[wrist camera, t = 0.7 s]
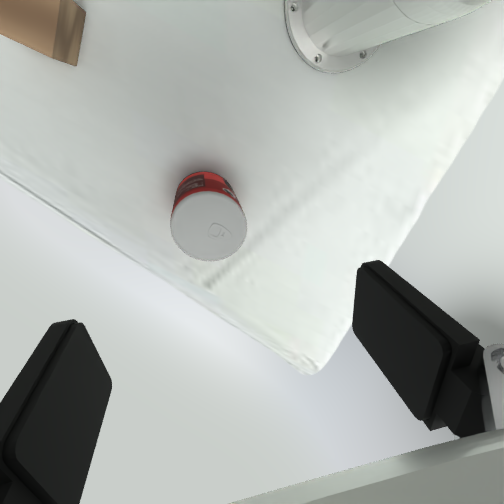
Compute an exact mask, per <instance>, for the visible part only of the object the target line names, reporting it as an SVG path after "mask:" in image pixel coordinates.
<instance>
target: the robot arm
mask: <svg viewBox="0 0 504 504" xmlns="http://www.w3.org/2000/svg"><path fill="white" fill-rule="evenodd" d="M490 1H492V0H285V16H286V24H287V28H288V33H289V36H290V38H291V41H292V43H293V45H294V47H295V49H296V50H297V52H298V54H299V55H300V56H301V57H302V58H303V59H304V61H305V62H306V63H308V64H309V65H310V66H312V67H313V68H315V69H317V70H320V71H322V72H328V73H338V72H344V71H348V70H351V69H353V68H355V67H357V66H359V65H361V64H362V63H364V62H365V61H366V60H368V58H369V57H370V56H371V55H372V54H373V53H374V52H375V51H376V50H377V49H378V47H379V46H380V44H382V43H385V42H388V41H391V40H395V39H398V38H401V37H404V36H407V35H410V34H413V33H416V32H419V31H422V30H425V29H428V28H431V27H434V26H437V25H440V24H443V23H445V22H448V21H451V20H454V19H457V18H460V17H462V16H465V15H467V14H469V13H472V12H474V11H476V10H477V9H479V8H481V7H482V6H484V5H486V4H487V3H489V2H490ZM291 6H292V7H294V11H292V10H291ZM360 54H361V57H360ZM315 57H317V62H315ZM352 327H353V331H354V333H355V335H356V336H357V338H358V339H359V340H360V342H361V343H362V345H363V346H364V347H365V349H366V350H367V352H368V353H369V354H370V356H371V357H372V358H373V360H374V361H375V363H376V364H377V365H378V367H379V368H380V369H381V371H382V372H383V374H384V375H385V376H386V378H387V379H388V381H389V382H390V383H391V385H392V386H393V387H394V389H395V390H396V392H397V393H398V394H399V396H400V397H401V398H402V400H403V401H404V402H405V404H406V405H407V407H408V408H409V409H410V411H411V412H412V414H413V415H414V416H415V417H416V418H417V419H418V420H420V421H421V420H423V421H424V423H425V424H426V426H427V427H428V429H429V430H430V431H432V430H435V429H439V428H442V427H446V426H448V428H449V429H450V430H451V431H452V432H453V434H454V440H453V441H449V442H445V443H441V444H438V445H433V446H429V447H426V448H422V449H418V450H415V451H411V452H408V453H404V454H401V455H397V456H394V457H390V458H387V459H383V460H379V461H376V462H373V463H369V464H366V465H362V466H358V467H355V468H351V469H348V470H344V471H341V472H337V473H334V474H330V475H326V476H323V477H319V478H316V479H312V480H309V481H305V482H302V483H299V484H295V485H292V486H288V487H285V488H281V489H278V490H274V491H271V492H267V493H264V494H260V495H257V496H254V497H250V498H246V499H243V500H240V501H236V502H233V503H230V504H504V344H493V345H490V346H487V347H486V349H484V348H483V347H482V346H481V345H479V341H480V340H479V339H478V338H477V337H475V336H474V335H473V334H472V333H471V332H469V331H468V330H467V329H466V328H464V327H463V326H462V325H461V324H459V323H458V322H457V321H455V320H454V319H453V318H452V317H450V316H449V315H448V314H447V313H445V312H444V311H443V310H442V309H441V308H439V307H438V306H437V305H436V304H434V303H433V302H432V301H431V300H429V299H428V298H427V297H426V296H424V295H423V294H422V293H421V292H419V291H418V290H417V289H416V288H414V287H413V286H412V285H411V284H409V283H408V282H407V281H405V280H404V279H403V278H402V277H400V276H399V275H398V274H397V273H395V272H394V271H393V270H392V269H391V268H389V267H388V266H387V265H386V264H384V263H383V262H382V261H380V260H376V261H371V262H366V263H363V264H362V265H361V268H358V270H357V277H356V288H355V299H354V310H353V322H352ZM111 389H112V381H111V378H110V376H109V374H108V372H107V370H106V368H105V366H104V364H103V362H102V360H101V358H100V356H99V354H98V352H97V350H96V348H95V346H94V344H93V342H92V340H91V338H90V336H89V334H88V332H87V330H86V328H85V326H84V324H83V323H78V322H77V321H76V320H74V319H72V320H67V321H62V322H56V323H53V324H52V325H51V326H50V327H49V329H48V330H47V332H46V333H45V335H44V336H43V338H42V340H41V341H40V343H39V344H38V346H37V347H36V349H35V350H34V352H33V354H32V355H31V357H30V358H29V360H28V361H27V363H26V364H25V366H24V367H23V369H22V370H21V372H20V373H19V375H18V376H17V378H16V380H15V381H14V383H13V384H12V386H11V387H10V389H9V391H8V392H7V393H6V395H5V396H4V398H3V400H2V401H1V403H0V504H79V503H80V499H81V496H82V492H83V489H84V485H85V481H86V478H87V475H88V471H89V468H90V464H91V460H92V457H93V453H94V449H95V446H96V443H97V439H98V436H99V432H100V428H101V425H102V422H103V418H104V415H105V411H106V407H107V404H108V401H109V397H110V393H111Z"/></svg>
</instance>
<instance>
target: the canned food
mask: <svg viewBox="0 0 504 504" xmlns="http://www.w3.org/2000/svg"><path fill="white" fill-rule="evenodd" d="M170 227H171V233H172V237H173V239H174V241H175V243H176V244H177V246H178V247H179V248H180V249H181V250H182V251H183V252H184V253H186V254H187V255H189V256H190V257H193V258H195V259H198V260H202V261H218V260H221V259H225V258H227V257H229V256H231V255H232V254H234V253H235V252H236V251H237V250H238V249H239V248H240V247H241V245H242V244H243V242H244V240H245V237H246V233H247V222H246V218H245V214H244V212H243V210H242V208H241V206H240V204H239V202H238V200H237V198H236V196H235V193H234V191H233V190H232V188H231V186H230V185H229V183H228V182H227V181H226V180H225V179H224V178H222V177H221V176H219V175H217V174H214V173H210V172H197V173H194V174H191V175H189V176H188V177H186V178H185V179H184V180H183V181H182V182H181V183H180V185H179V186H178V188H177V192H176V196H175V200H174V205H173V210H172V214H171V223H170Z"/></svg>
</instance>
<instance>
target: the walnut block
mask: <svg viewBox="0 0 504 504" xmlns="http://www.w3.org/2000/svg"><path fill="white" fill-rule="evenodd" d="M85 16H86V12H85V11H84V10H83V9H82V8H81V7H80V6H78V5H77V4H76V3H75V2H74V1H73V0H0V34H1V35H3V36H6V37H8V38H10V39H12V40H14V41H16V42H18V43H21V44H23V45H25V46H27V47H29V48H31V49H34V50H36V51H38V52H40V53H42V54H44V55H46V56H49V57H51V58H53V59H56V60H59V61H62V62H65V63H68V64H71V65H74V66H77V61H78V56H79V50H80V44H81V39H82V33H83V27H84V22H85Z"/></svg>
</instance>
